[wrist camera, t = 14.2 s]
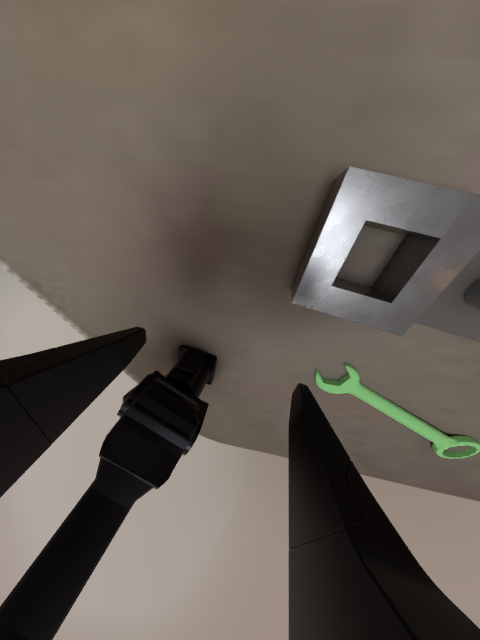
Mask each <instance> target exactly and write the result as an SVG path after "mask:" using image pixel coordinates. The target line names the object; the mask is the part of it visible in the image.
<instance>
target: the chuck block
mask: <svg viewBox="0 0 480 640" xmlns="http://www.w3.org/2000/svg"><path fill="white" fill-rule="evenodd" d="M363 225H368V226H372V227H376V228H380V229H384V230H388V231H392V232H396V233H400V234H404V235H407V236H406V237H405V239H404V240H403V242H402V243H401V245H400V246H399V248H398V249H397V251H396V252H395V254H394V255H393V257H392V258H391V260H390V261H389V263H388V264H387V266H386V267H385V269H384V270H383V272H382V273H381V275H380V276H379V278H378V280H377V281H376V283H375V284H374V286H373V287H372V288H370V287H366V286H363V285H359V284H355V283H352V282H348V281H345V280H341V279H338V278H336V276H337V274H338V272H339V270H340V268H341V266H342V264H343V263H344V261H345V259H346V257H347V255H348V253H349V251H350V249H351V247H352V245H353V244H354V242H355V240H356V238H357V236H358V234H359V232H360V230H361V228H362V226H363ZM479 250H480V195H477V194H473V193H468V192H464V191H459V190H455V189H450V188H446V187H441V186H437V185H432V184H428V183H423V182H418V181H414V180H409V179H405V178H400V177H396V176H391V175H387V174H382V173H378V172H373V171H368V170H364V169H359V168H355V167H350V166H349V167H348V168H347V169H346V170H345V171H344V172H343V173H342V174H341V175H340V176H339V177H338V178H337V179H336V180H335V182H334V184H333V187H332V189H331V192H330V194H329V197H328V199H327V202H326V204H325V207H324V209H323V212H322V214H321V217H320V219H319V222H318V224H317V227H316V229H315V231H314V234H313V236H312V239H311V241H310V244H309V246H308V249H307V251H306V254H305V256H304V259H303V261H302V264H301V266H300V269H299V271H298V274H297V276H296V279H295V281H294V284H293V286H292V289H291V296H292V303H294V304H297V305H300V306H304V307H307V308H310V309H313V310H317V311H320V312H323V313H327V314H330V315H333V316H336V317H340V318H343V319H346V320H349V321H353V322H356V323H359V324H363V325H366V326H369V327H372V328H376V329H379V330H382V331H386V332H389V333H392V334H395V335H399V336H403V334H404V333H405V332H406V331H407V330H408V329H409V328H410V327H411V326H412V324H413V323H414V322H415V321H416V320H417V319H418V318H419V317H420V316H421V314H422V313H423V312H424V311H425V310H426V309H427V308H428V307H429V306H430V304H431V303H432V302H433V301H434V300H435V299H436V298H437V297H438V296H439V294H440V293H441V292H442V291H443V290H444V289H445V288H446V287H447V286H448V285H449V283H450V282H451V281H452V280H453V279H454V278H455V277H456V276H457V275H458V273H459V272H460V271H461V270H462V269H463V268H464V267H465V266H466V265H467V263H468V262H469V261H470V260H471V259H472V258H473V257H474V256H475V255H476V253H477V252H478V251H479Z"/></svg>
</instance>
